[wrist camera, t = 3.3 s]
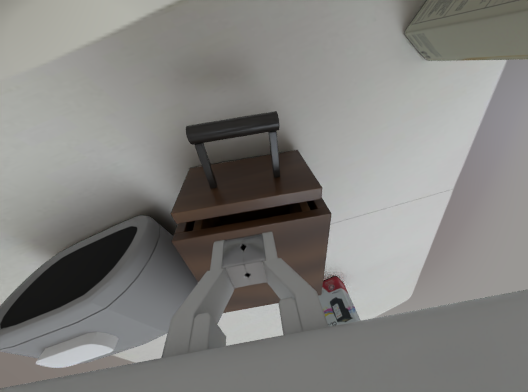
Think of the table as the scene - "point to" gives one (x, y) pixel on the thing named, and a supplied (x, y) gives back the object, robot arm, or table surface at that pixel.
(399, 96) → the table surface
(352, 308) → the ink box
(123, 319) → the alarm clock
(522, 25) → the cosmetic box
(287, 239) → the cabinet
